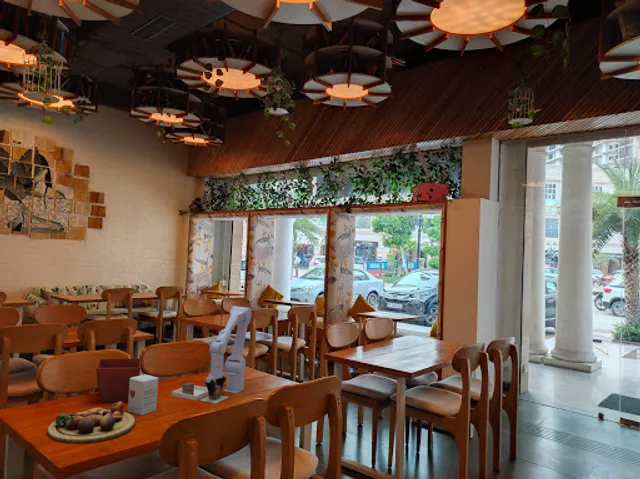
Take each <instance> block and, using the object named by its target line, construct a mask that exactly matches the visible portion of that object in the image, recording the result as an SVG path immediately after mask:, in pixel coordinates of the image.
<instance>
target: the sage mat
mask: <svg viewBox="0 0 640 479" xmlns="http://www.w3.org/2000/svg"><path fill="white" fill-rule="evenodd" d="M228 398H229V396H228V395H221V394H220V398H219V399H217V400H212V399H209V395H207V396H205V397H202V398H200V401H202V402H206V403H212V404H217V403H219V402H221V401H224V400H226V399H228Z"/></svg>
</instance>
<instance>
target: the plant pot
mask: <svg viewBox="0 0 640 479" xmlns="http://www.w3.org/2000/svg"><path fill="white" fill-rule="evenodd" d="M141 361H142V359H141V358H99V360H98V364H96V365H97V366H96V369H95V370H96V381H97V388H98V393H99V398H100V401H101V403H117V402H119V401H121V402H128V398H129V384H130V378H132V377H136V376H140V372H141V368H142V367H141V366H142V365H141V364H142V362H141Z"/></svg>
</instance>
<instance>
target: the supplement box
mask: <svg viewBox="0 0 640 479" xmlns="http://www.w3.org/2000/svg"><path fill="white" fill-rule="evenodd" d="M159 380H160V378H159V377H156V376H153V375H150V374H149V375H148V374H141V375H140V374H139V376H136V377H132V378H130V384H129V398H128V401H127V403H128V404H127V413H133V414H136V415H139V416H144V415H146V414H149V413H152V412H156V410H157V403H158V389H159Z"/></svg>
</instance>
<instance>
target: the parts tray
mask: <svg viewBox="0 0 640 479" xmlns="http://www.w3.org/2000/svg"><path fill="white" fill-rule="evenodd" d="M182 388H183V387H180V388H178V389H175V390H172V391H171V396H172V397H174V398H175V397H176V398H181V399H187V400H191V401H198V400H201V399H203V398H206V397H208V396H209V394H208V389H207V386H199V385H195V384H194V395H189V394H184V393H182Z"/></svg>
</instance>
